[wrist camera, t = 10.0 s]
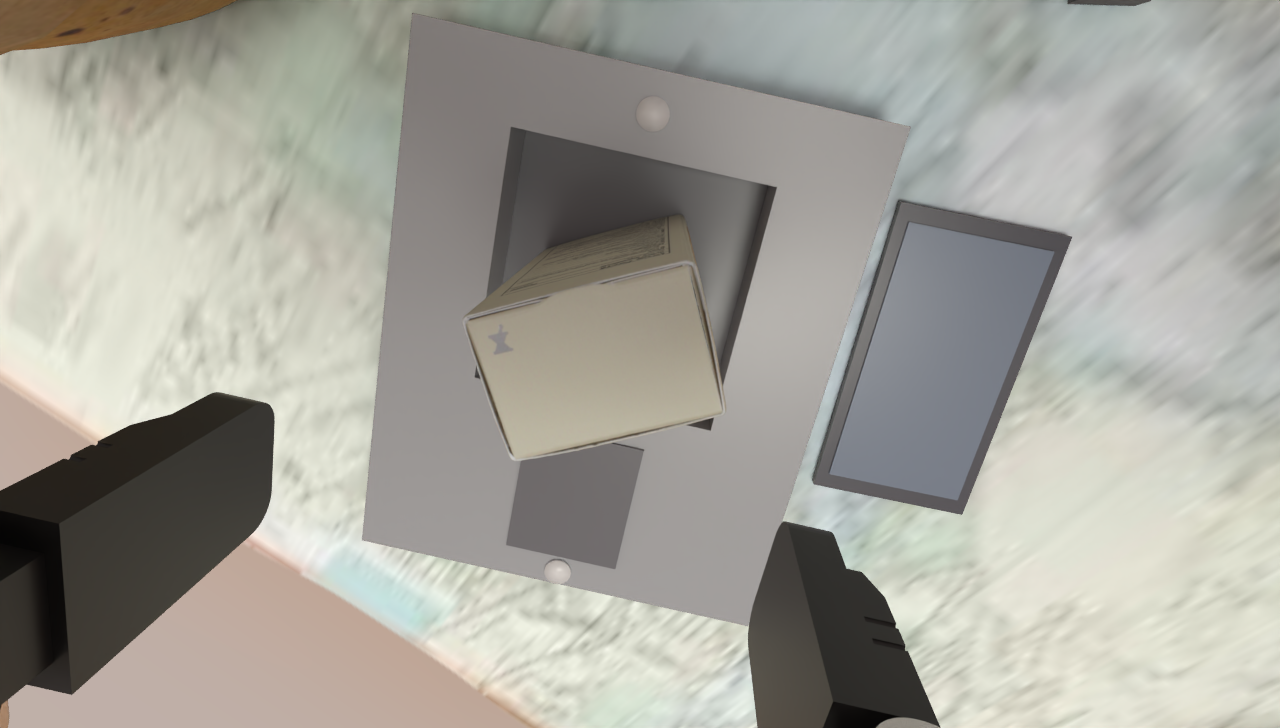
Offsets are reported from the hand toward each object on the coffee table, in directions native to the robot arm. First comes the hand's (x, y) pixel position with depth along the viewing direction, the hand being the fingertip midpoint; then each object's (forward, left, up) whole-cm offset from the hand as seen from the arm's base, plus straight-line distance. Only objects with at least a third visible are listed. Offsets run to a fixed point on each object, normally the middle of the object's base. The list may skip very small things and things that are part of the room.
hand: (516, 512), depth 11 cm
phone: (-14, +1, -20) cm, 25 cm away
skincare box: (0, 0, -20) cm, 20 cm away
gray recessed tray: (0, +3, -20) cm, 20 cm away
